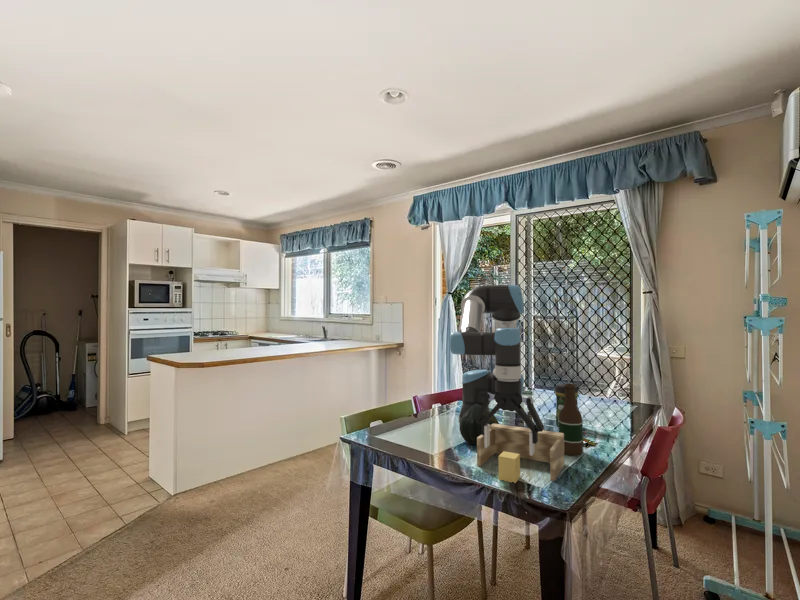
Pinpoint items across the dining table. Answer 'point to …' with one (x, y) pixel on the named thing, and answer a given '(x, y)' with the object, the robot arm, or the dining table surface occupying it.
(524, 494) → the dining table surface
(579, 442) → the beer bottle
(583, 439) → the lily flower
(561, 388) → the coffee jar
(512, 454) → the block
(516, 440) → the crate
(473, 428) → the squash
